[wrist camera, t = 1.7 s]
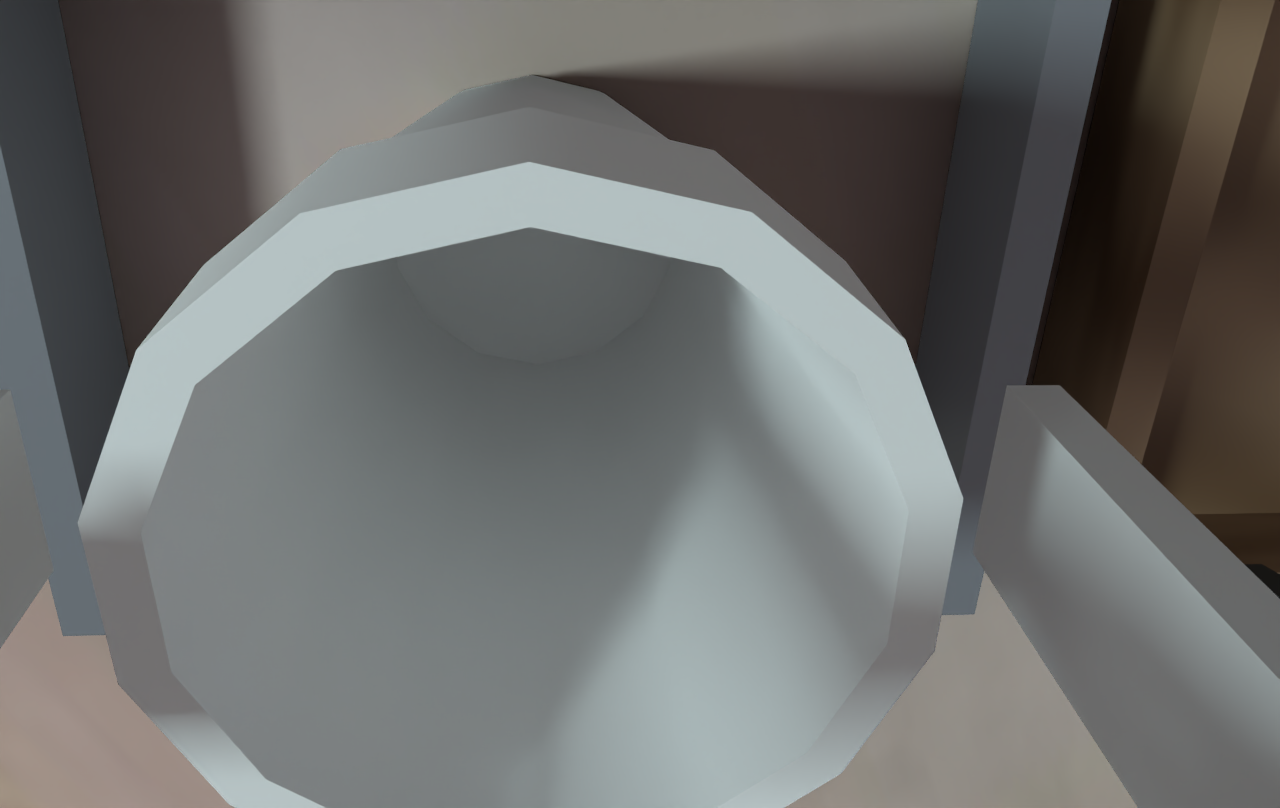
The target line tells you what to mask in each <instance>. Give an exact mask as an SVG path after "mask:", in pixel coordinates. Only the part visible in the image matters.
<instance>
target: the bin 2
mask: <svg viewBox="0 0 1280 808" xmlns="http://www.w3.org/2000/svg"><path fill="white" fill-rule="evenodd" d="M1033 385H1060V386H1061V387H1062V388H1063V389H1064V390H1065V391H1066V392H1067V393H1068V394H1069V395H1070V396H1071V397H1072V398H1073V399H1074V400H1075V401H1076V402H1078V403H1079V404H1080V405H1081V406H1082V407H1083V408H1084V409H1085V410H1086V411H1087V412H1088V413H1089V414H1090V415H1091V416H1092V417H1093V418H1094V419H1095V420H1096V421H1097V422H1098V423H1099V424H1100V425H1101V426H1102V427H1103V428H1104V429H1105V430H1106V431H1107V432H1108V433H1109V434H1110V435H1112V436H1113V437H1114V438H1115V439H1116V440H1117V441H1118V442H1119V443H1120V444H1121V445H1122V446H1123V447H1124V448H1125V449H1126V450H1127V451H1128V452H1129V453H1130V454H1131V455H1132V456H1133V457H1134V458H1135V459H1136V460H1137V461H1138V462H1139V463H1140V464H1141V465H1142V466H1143V467H1144V468H1146V469H1147V470H1148V471H1149V472H1150V473H1151V474H1152V475H1153V476H1154V477H1155V478H1156V479H1157V480H1158V481H1159V482H1160V483H1161V484H1162V485H1163V486H1164V487H1165V488H1166V489H1167V490H1168V491H1169V492H1170V493H1171V494H1172V495H1173V496H1174V497H1175V498H1176V499H1177V500H1178V501H1180V502H1181V503H1182V504H1183V505H1184V506H1185V507H1186V508H1187V509H1188V510H1189V511H1190V512H1191V513H1192V514H1193V515H1194V516H1195V517H1196V518H1197V519H1198V520H1199V521H1200V522H1201V523H1202V524H1203V525H1204V526H1205V527H1206V528H1207V529H1208V530H1209V531H1210V532H1211V533H1212V534H1214V535H1215V536H1216V537H1217V538H1218V539H1219V540H1220V541H1221V542H1222V543H1223V544H1224V545H1225V546H1226V547H1227V548H1228V549H1229V550H1230V551H1231V552H1232V553H1233V554H1234V555H1235V556H1236V557H1237V558H1238V559H1239V560H1240V561H1241V562H1242V563H1243V564H1263V565H1265V566H1266V567H1268V568H1270V569H1272V570H1273V571H1275V572H1277V573H1278V574H1280V0H1119V5H1118V9H1117V14H1116V18H1115V22H1114V27H1113V31H1112V36H1111V40H1110V45H1109V49H1108V53H1107V58H1106V62H1105V67H1104V71H1103V75H1102V80H1101V84H1100V89H1099V93H1098V98H1097V102H1096V106H1095V111H1094V115H1093V120H1092V124H1091V128H1090V133H1089V137H1088V142H1087V146H1086V151H1085V155H1084V159H1083V164H1082V168H1081V173H1080V177H1079V181H1078V186H1077V190H1076V195H1075V199H1074V203H1073V208H1072V212H1071V217H1070V221H1069V226H1068V230H1067V234H1066V239H1065V243H1064V248H1063V252H1062V256H1061V261H1060V265H1059V270H1058V274H1057V279H1056V283H1055V287H1054V292H1053V296H1052V301H1051V305H1050V309H1049V314H1048V318H1047V323H1046V327H1045V332H1044V336H1043V340H1042V345H1041V349H1040V354H1039V358H1038V362H1037V367H1036V371H1035V376H1034V380H1033Z"/></svg>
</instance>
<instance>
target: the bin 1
mask: <svg viewBox="0 0 1280 808" xmlns="http://www.w3.org/2000/svg"><path fill="white" fill-rule="evenodd" d="M1110 4H1111V0H978V4H977V9H976V15H975V21H974V27H973V33H972V39H971V45H970V50H969V56H968V62H967V68H966V74H965V80H964V86H963V91H962V97H961V103H960V109H959V115H958V121H957V127H956V133H955V138H954V144H953V150H952V156H951V162H950V168H949V174H948V179H947V185H946V191H945V197H944V203H943V209H942V215H941V220H940V226H939V232H938V238H937V244H936V250H935V256H934V261H933V267H932V273H931V279H930V285H929V291H928V297H927V302H926V308H925V314H924V320H923V326H922V332H921V338H920V344H919V349H918V355H917V361H916V370H917V373H918V376H919V378H920V381H921V384H922V387H923V389H924V392H925V395H926V397H927V400H928V403H929V406H930V408H931V411H932V414H933V417H934V419H935V422H936V425H937V428H938V430H939V433H940V436H941V439H942V441H943V444H944V447H945V450H946V452H947V455H948V458H949V460H950V463H951V466H952V469H953V471H954V474H955V477H956V480H957V482H958V485H959V488H960V491H961V493H962V496H963V504H962V509H961V514H960V519H959V525H958V530H957V535H956V541H955V546H954V551H953V556H952V562H951V567H950V572H949V578H948V583H947V588H946V594H945V599H944V604H943V609H942V615H964V614H974V613H975V609H976V605H977V600H978V596H979V591H980V587H981V582H982V578H983V573H984V569H983V568H982V566H981V565H980V563H979V562H978V560H977V558H976V557H975V555H974V554H973V547H974V542H975V537H976V532H977V527H978V523H979V518H980V513H981V508H982V503H983V498H984V494H985V489H986V484H987V479H988V474H989V469H990V464H991V460H992V455H993V450H994V445H995V440H996V435H997V431H998V426H999V421H1000V416H1001V411H1002V406H1003V401H1004V397H1005V392H1006V387H1007V385H1026V381H1027V376H1028V372H1029V367H1030V363H1031V358H1032V354H1033V349H1034V345H1035V340H1036V336H1037V331H1038V327H1039V322H1040V318H1041V313H1042V309H1043V304H1044V300H1045V295H1046V291H1047V287H1048V282H1049V278H1050V273H1051V269H1052V264H1053V260H1054V255H1055V251H1056V246H1057V242H1058V237H1059V233H1060V228H1061V224H1062V219H1063V215H1064V210H1065V206H1066V201H1067V197H1068V192H1069V188H1070V184H1071V179H1072V175H1073V170H1074V166H1075V161H1076V157H1077V152H1078V148H1079V143H1080V139H1081V134H1082V130H1083V125H1084V121H1085V116H1086V112H1087V107H1088V103H1089V98H1090V94H1091V89H1092V85H1093V81H1094V76H1095V72H1096V67H1097V63H1098V58H1099V54H1100V49H1101V45H1102V40H1103V36H1104V31H1105V27H1106V22H1107V18H1108V13H1109V9H1110ZM128 373H129V366H128V361H127V356H126V350H125V345H124V340H123V335H122V330H121V324H120V319H119V314H118V309H117V304H116V298H115V293H114V288H113V283H112V278H111V272H110V267H109V262H108V257H107V252H106V247H105V241H104V236H103V231H102V226H101V221H100V215H99V210H98V205H97V200H96V195H95V189H94V184H93V179H92V174H91V169H90V164H89V158H88V153H87V148H86V143H85V138H84V132H83V127H82V122H81V117H80V112H79V106H78V101H77V96H76V91H75V86H74V80H73V75H72V70H71V65H70V60H69V55H68V49H67V44H66V39H65V34H64V29H63V23H62V18H61V13H60V8H59V3H58V0H0V390H10V391H11V395H12V399H13V403H14V407H15V412H16V416H17V420H18V424H19V428H20V432H21V436H22V441H23V445H24V449H25V453H26V457H27V461H28V466H29V470H30V474H31V478H32V482H33V486H34V490H35V495H36V499H37V503H38V507H39V511H40V515H41V519H42V524H43V528H44V532H45V536H46V540H47V544H48V549H49V553H50V557H51V561H52V565H53V569H54V571H53V572H52V574H51V575H50V576H49V578H48V579H49V583H50V587H51V591H52V595H53V599H54V603H55V606H56V610H57V614H58V618H59V622H60V626H61V630H62V634H63V636H81V635H106V634H105V630H104V626H103V622H102V618H101V614H100V610H99V606H98V602H97V598H96V594H95V590H94V586H93V583H92V579H91V575H90V571H89V567H88V563H87V559H86V555H85V551H84V547H83V543H82V539H81V535H80V531H79V527H78V520H79V517H80V514H81V511H82V508H83V505H84V502H85V499H86V496H87V493H88V490H89V488H90V485H91V482H92V479H93V476H94V473H95V470H96V467H97V464H98V461H99V458H100V455H101V452H102V449H103V446H104V443H105V440H106V437H107V435H108V432H109V429H110V426H111V423H112V420H113V417H114V414H115V411H116V408H117V405H118V402H119V399H120V396H121V393H122V390H123V387H124V384H125V382H126V379H127V376H128Z"/></svg>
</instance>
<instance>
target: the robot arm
mask: <svg viewBox="0 0 1280 808" xmlns="http://www.w3.org/2000/svg"><path fill="white" fill-rule="evenodd" d="M973 554H974V555H975V557H976V558H977V560H978V562H979V563H980V565H981V566H982V568H983V569H984V571H985V572H986V574H987V575H988V577H989V578H990V580H991V582H992V583H993V585H994V586H995V588H996V589H997V591H998V592H999V594H1000V595H1001V597H1002V599H1003V600H1004V602H1005V603H1006V605H1007V606H1008V608H1009V609H1010V611H1011V612H1012V614H1013V615H1014V617H1015V619H1016V620H1017V622H1018V623H1019V625H1020V626H1021V628H1022V629H1023V631H1024V632H1025V634H1026V635H1027V637H1028V639H1029V640H1030V642H1031V643H1032V645H1033V646H1034V648H1035V649H1036V651H1037V652H1038V654H1039V656H1040V657H1041V659H1042V660H1043V662H1044V663H1045V665H1046V666H1047V668H1048V669H1049V671H1050V672H1051V674H1052V676H1053V677H1054V679H1055V680H1056V682H1057V683H1058V685H1059V686H1060V688H1061V689H1062V691H1063V692H1064V694H1065V696H1066V697H1067V699H1068V700H1069V702H1070V703H1071V705H1072V706H1073V708H1074V709H1075V711H1076V713H1077V714H1078V716H1079V717H1080V719H1081V720H1082V722H1083V723H1084V725H1085V726H1086V728H1087V729H1088V731H1089V733H1090V734H1091V736H1092V737H1093V739H1094V740H1095V742H1096V743H1097V745H1098V746H1099V748H1100V749H1101V751H1102V753H1103V754H1104V756H1105V757H1106V759H1107V760H1108V762H1109V763H1110V765H1111V766H1112V768H1113V770H1114V771H1115V773H1116V774H1117V776H1118V777H1119V779H1120V780H1121V782H1122V783H1123V785H1124V786H1125V788H1126V790H1127V791H1128V793H1129V794H1130V796H1131V797H1132V799H1133V800H1134V802H1135V803H1136V805H1137V806H1138V808H1280V574H1278V573H1277V572H1275V571H1273V570H1272V569H1270V568H1268V567H1266V566H1265V565H1263V564H1243V563H1242V562H1241V561H1240V560H1239V559H1238V558H1237V557H1236V556H1235V555H1234V554H1233V553H1232V552H1231V551H1230V550H1229V549H1228V548H1227V547H1226V546H1225V545H1224V544H1223V543H1222V542H1221V541H1220V540H1219V539H1218V538H1217V537H1216V536H1215V535H1214V534H1212V533H1211V532H1210V531H1209V530H1208V529H1207V528H1206V527H1205V526H1204V525H1203V524H1202V523H1201V522H1200V521H1199V520H1198V519H1197V518H1196V517H1195V516H1194V515H1193V514H1192V513H1191V512H1190V511H1189V510H1188V509H1187V508H1186V507H1185V506H1184V505H1183V504H1182V503H1181V502H1180V501H1178V500H1177V499H1176V498H1175V497H1174V496H1173V495H1172V494H1171V493H1170V492H1169V491H1168V490H1167V489H1166V488H1165V487H1164V486H1163V485H1162V484H1161V483H1160V482H1159V481H1158V480H1157V479H1156V478H1155V477H1154V476H1153V475H1152V474H1151V473H1150V472H1149V471H1148V470H1147V469H1146V468H1144V467H1143V466H1142V465H1141V464H1140V463H1139V462H1138V461H1137V460H1136V459H1135V458H1134V457H1133V456H1132V455H1131V454H1130V453H1129V452H1128V451H1127V450H1126V449H1125V448H1124V447H1123V446H1122V445H1121V444H1120V443H1119V442H1118V441H1117V440H1116V439H1115V438H1114V437H1113V436H1112V435H1110V434H1109V433H1108V432H1107V431H1106V430H1105V429H1104V428H1103V427H1102V426H1101V425H1100V424H1099V423H1098V422H1097V421H1096V420H1095V419H1094V418H1093V417H1092V416H1091V415H1090V414H1089V413H1088V412H1087V411H1086V410H1085V409H1084V408H1083V407H1082V406H1081V405H1080V404H1079V403H1078V402H1076V401H1075V400H1074V399H1073V398H1072V397H1071V396H1070V395H1069V394H1068V393H1067V392H1066V391H1065V390H1064V389H1063V388H1062V387H1061V386H1060V385H1007V387H1006V392H1005V397H1004V401H1003V406H1002V411H1001V416H1000V421H999V426H998V431H997V435H996V440H995V445H994V450H993V455H992V460H991V464H990V469H989V474H988V479H987V484H986V489H985V494H984V498H983V503H982V508H981V513H980V518H979V523H978V527H977V532H976V537H975V542H974V547H973ZM53 571H54V569H53V565H52V561H51V557H50V553H49V549H48V544H47V540H46V536H45V532H44V528H43V524H42V519H41V515H40V511H39V507H38V503H37V499H36V495H35V490H34V486H33V482H32V478H31V474H30V470H29V466H28V461H27V457H26V453H25V449H24V445H23V441H22V436H21V432H20V428H19V424H18V420H17V416H16V412H15V407H14V403H13V399H12V395H11V391H10V390H0V648H1V647H2V645H3V644H4V642H5V641H6V639H7V638H8V636H9V635H10V633H11V632H12V631H13V629H14V628H15V626H16V625H17V623H18V622H19V620H20V619H21V617H22V616H23V614H24V613H25V612H26V610H27V609H28V607H29V606H30V604H31V603H32V601H33V600H34V598H35V597H36V595H37V594H38V593H39V591H40V590H41V588H42V587H43V585H44V584H45V582H46V581H47V579H48V578H49V576H50V575H51V574H52V572H53Z"/></svg>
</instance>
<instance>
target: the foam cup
mask: <svg viewBox="0 0 1280 808" xmlns="http://www.w3.org/2000/svg"><path fill="white" fill-rule="evenodd" d="M962 504H963V496H962V493H961V491H960V488H959V485H958V482H957V480H956V477H955V474H954V471H953V469H952V466H951V463H950V460H949V458H948V455H947V452H946V450H945V447H944V444H943V441H942V439H941V436H940V433H939V430H938V428H937V425H936V422H935V419H934V417H933V414H932V411H931V408H930V406H929V403H928V400H927V397H926V395H925V392H924V389H923V387H922V384H921V381H920V378H919V376H918V373H917V370H916V367H915V365H914V362H913V359H912V356H911V354H910V351H909V348H908V345H907V343H906V340H905V338H904V337H903V336H902V334H901V333H900V332H899V331H898V329H897V328H896V327H895V325H894V324H893V323H892V321H891V320H890V319H889V317H888V316H887V315H886V313H885V312H884V311H883V310H882V308H881V307H880V306H879V304H878V303H877V302H876V300H875V299H874V298H873V296H872V295H871V294H870V293H869V291H868V290H867V289H866V287H865V286H864V285H863V283H862V282H861V281H860V279H859V278H858V277H857V276H856V274H855V273H854V272H853V270H852V269H851V268H850V266H849V265H848V264H847V262H846V261H845V260H844V259H843V258H841V257H840V256H839V255H838V254H837V253H835V252H834V251H833V250H832V249H831V248H830V247H828V246H827V245H826V244H825V243H824V242H822V241H821V240H820V239H819V238H818V237H817V236H815V235H814V234H813V233H812V232H811V231H809V230H808V229H807V228H806V227H805V226H804V225H802V224H801V223H800V222H799V221H798V220H796V219H795V218H794V217H793V216H792V215H790V214H789V213H788V212H787V211H786V210H785V209H783V208H782V207H781V206H780V205H779V204H777V203H776V202H775V201H774V200H773V199H772V198H770V197H769V196H768V195H767V194H766V193H764V192H763V191H762V190H761V189H760V188H759V187H757V186H756V185H755V184H754V183H753V182H751V181H750V180H749V179H748V178H747V177H745V176H744V175H743V174H742V173H741V172H740V171H738V170H737V169H736V168H735V167H734V166H732V165H731V164H730V163H729V162H728V161H727V160H725V159H724V158H723V157H722V156H721V155H719V154H718V153H717V152H716V151H715V150H711V149H707V148H703V147H698V146H694V145H690V144H686V143H681V142H677V141H673V140H669V139H668V138H666V137H665V136H663V135H662V134H661V133H659V132H658V131H656V130H655V129H654V128H652V127H651V126H649V125H648V124H646V123H645V122H644V121H642V120H641V119H639V118H638V117H637V116H635V115H634V114H632V113H631V112H630V111H628V110H627V109H625V108H624V107H623V106H621V105H620V104H618V103H617V102H616V101H614V100H613V99H611V98H610V97H609V96H607V95H606V94H604V93H602V92H600V91H597V90H593V89H589V88H585V87H580V86H576V85H572V84H568V83H564V82H560V81H556V80H551V79H547V78H543V77H539V76H535V75H529V76H525V77H520V78H516V79H511V80H507V81H502V82H498V83H494V84H489V85H485V86H480V87H476V88H471V89H467V90H464V91H462V92H459V93H458V94H456V95H455V96H453V97H452V98H450V99H449V100H447V101H446V102H444V103H443V104H441V105H440V106H438V107H437V108H435V109H434V110H432V111H431V112H429V113H428V114H426V115H425V116H423V117H422V118H420V119H419V120H417V121H416V122H414V123H413V124H411V125H410V126H408V127H407V128H405V129H404V130H402V131H401V132H399V133H398V134H396V135H395V136H393V137H392V138H388V139H384V140H380V141H375V142H371V143H366V144H362V145H357V146H353V147H349V148H344V149H340V150H339V151H338V152H337V153H336V154H334V155H333V156H332V157H331V158H330V159H328V160H327V161H326V162H325V163H324V164H323V165H321V166H320V167H319V168H318V169H317V170H315V171H314V172H313V173H312V174H311V175H309V176H308V177H307V178H306V179H305V180H304V181H302V182H301V183H300V184H299V185H298V186H296V187H295V188H294V189H293V190H292V191H291V192H289V193H288V194H287V195H286V196H285V197H283V198H282V199H281V200H280V201H279V202H277V203H276V204H275V205H274V206H273V207H272V208H270V209H269V210H268V211H267V212H266V213H264V214H263V215H262V216H261V217H260V218H259V219H257V220H256V221H255V222H254V223H253V224H251V225H250V226H249V227H248V228H247V229H245V230H244V231H243V232H242V233H241V234H240V235H238V236H237V237H236V238H235V239H234V240H232V241H231V242H230V243H229V244H228V245H227V246H225V247H224V248H223V249H222V250H221V251H219V252H218V253H217V254H216V255H215V256H213V257H212V258H211V259H210V260H209V261H208V262H206V263H205V264H204V265H203V266H202V267H201V269H200V270H199V271H198V272H197V274H196V275H195V276H194V277H193V279H192V280H191V281H190V283H189V284H188V285H187V286H186V288H185V289H184V290H183V291H182V293H181V294H180V295H179V296H178V298H177V299H176V300H175V302H174V303H173V304H172V305H171V307H170V308H169V309H168V310H167V312H166V313H165V314H164V315H163V317H162V318H161V319H160V320H159V322H158V323H157V324H156V326H155V327H154V328H153V329H152V331H151V332H150V333H149V334H148V336H147V337H146V338H145V339H144V341H143V342H142V343H141V345H140V346H139V347H138V348H137V350H136V352H135V355H134V358H133V361H132V364H131V367H130V370H129V373H128V376H127V379H126V382H125V384H124V387H123V390H122V393H121V396H120V399H119V402H118V405H117V408H116V411H115V414H114V417H113V420H112V423H111V426H110V429H109V432H108V435H107V437H106V440H105V443H104V446H103V449H102V452H101V455H100V458H99V461H98V464H97V467H96V470H95V473H94V476H93V479H92V482H91V485H90V488H89V490H88V493H87V496H86V499H85V502H84V505H83V508H82V511H81V514H80V517H79V520H78V527H79V531H80V535H81V539H82V543H83V547H84V551H85V555H86V559H87V563H88V567H89V571H90V575H91V579H92V583H93V586H94V590H95V594H96V598H97V602H98V606H99V610H100V614H101V618H102V622H103V626H104V630H105V634H106V638H107V642H108V646H109V650H110V654H111V658H112V662H113V666H114V670H115V674H116V678H117V682H118V685H119V686H120V687H121V688H122V689H123V690H124V691H125V692H126V693H127V694H128V695H129V697H130V698H131V699H132V700H133V701H134V702H135V703H136V704H137V705H138V706H139V707H140V708H141V709H142V711H143V712H144V713H145V714H146V715H147V716H148V717H149V718H150V719H151V720H152V721H153V722H154V724H155V725H156V726H157V727H158V728H159V729H160V730H161V731H162V732H163V733H164V734H165V735H166V737H167V738H168V739H169V740H170V741H171V742H172V743H173V744H174V745H175V746H176V747H177V748H178V750H179V751H180V752H181V753H182V754H183V755H184V756H185V757H186V758H187V759H188V760H189V761H190V762H191V764H192V765H193V766H194V767H195V768H196V769H197V770H198V771H199V772H200V773H201V774H202V775H203V777H204V778H205V779H206V780H207V781H208V782H209V783H210V784H211V785H212V786H213V787H214V788H215V790H216V791H217V792H218V793H219V794H220V795H221V796H222V797H223V798H224V799H225V800H226V801H227V803H228V804H229V805H231V806H233V807H236V808H784V807H786V806H788V805H789V804H791V803H793V802H794V801H796V800H798V799H799V798H801V797H803V796H804V795H806V794H808V793H809V792H811V791H813V790H814V789H816V788H818V787H819V786H821V785H823V784H824V783H826V782H828V781H829V780H831V779H833V778H835V777H836V776H838V775H840V774H841V773H842V772H843V770H844V769H845V768H846V766H847V765H848V764H849V762H850V761H851V760H852V758H853V757H854V756H855V755H856V753H857V752H858V751H859V749H860V748H861V747H862V745H863V744H864V743H865V742H866V740H867V739H868V738H869V736H870V735H871V734H872V732H873V731H874V730H875V728H876V727H877V726H878V725H879V723H880V722H881V721H882V719H883V718H884V717H885V715H886V714H887V713H888V711H889V710H890V709H891V708H892V706H893V705H894V704H895V702H896V701H897V700H898V698H899V697H900V696H901V694H902V693H903V692H904V691H905V689H906V688H907V687H908V685H909V684H910V683H911V681H912V680H913V679H914V677H915V676H916V675H917V674H918V672H919V671H920V670H921V668H922V667H923V666H924V664H925V663H926V662H927V660H928V659H929V658H930V657H931V655H932V654H933V653H934V651H935V646H936V641H937V636H938V631H939V625H940V620H941V615H942V609H943V604H944V599H945V594H946V588H947V583H948V578H949V572H950V567H951V562H952V556H953V551H954V546H955V541H956V535H957V530H958V525H959V519H960V514H961V509H962Z"/></svg>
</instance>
